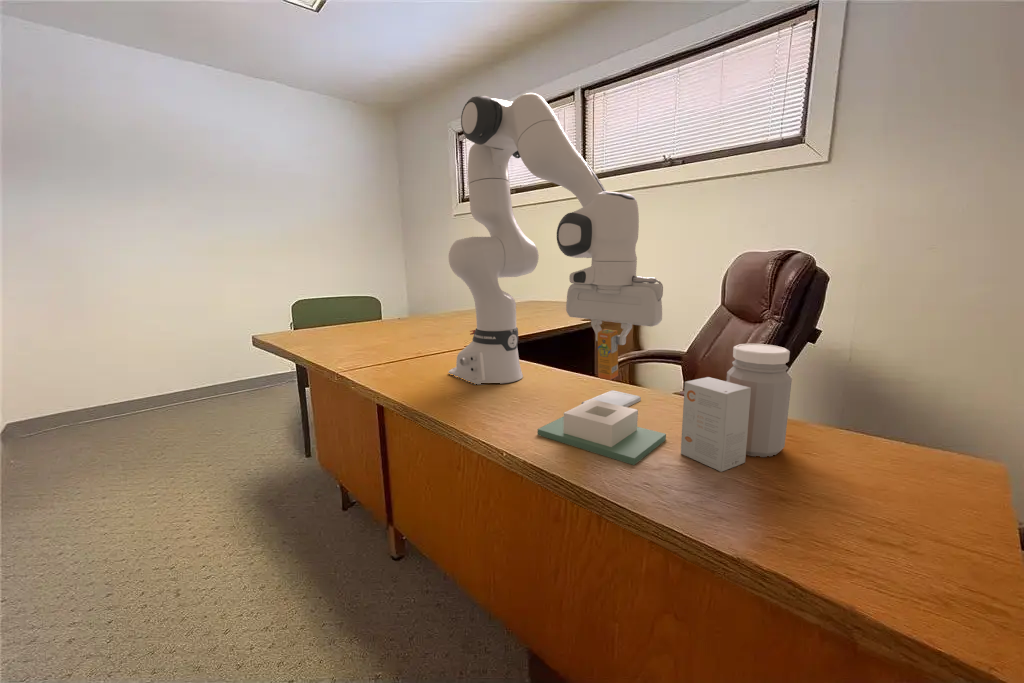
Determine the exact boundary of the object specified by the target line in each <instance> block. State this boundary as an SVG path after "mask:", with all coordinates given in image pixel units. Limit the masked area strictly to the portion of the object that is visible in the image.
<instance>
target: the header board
mask: <svg viewBox="0 0 1024 683" xmlns="http://www.w3.org/2000/svg"><path fill="white" fill-rule="evenodd" d="M590 399H591V400H589V399H588V400H589V401H587V400H586V401H587V402H585V403H583V404H579V405H577V406H575V407H573V408H570V409H569V410H567V411H564V412H563V416H561V417H559V418H557V419H555V420H553V421H551V422H549V423H547V424H545V425H543V426H541V427H539V428H538V429H537V436H540V437H543V438H545V439H549V440H552V441H556V442H559V443H563V444H565V445H568V446H572V447H575V448H578V449H581V450H584V451H588V452H591V453H593V454H597V455H601V456H603V457H607V458H609V459H614V460H617V461H620V462H623V463H626V464H629V465H631V466H635V465H636V464H638V463H639V462H641V460H642V459H643V458H645V457H646V456H648V455H649V454H650V453H651V452H652V451H654V450H655V449H657V447H660V445H662V444H663V443H664V442H665V441H667V433H664V432H661V431H656V430H653V429H648V428H644V427H640V426H638V417H639V416H638V415H639V413H638V412H639V410H638V409H636V408H632V407H623V406H619V405H615V404H610V403H606V402H601V401H597V400H592V398H590Z"/></svg>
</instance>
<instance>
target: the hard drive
mask: <svg viewBox="0 0 1024 683" xmlns="http://www.w3.org/2000/svg"><path fill="white" fill-rule="evenodd" d="M591 399H592V400H597V401H601V402H606V403H610V404H615V405H619V406H623V407H628V408H630V406H633V405H634V404H637V403H638V402H640V401H641V400H642V398H641V396H640V395H636V394H632V393H626V392H622V391H619V390H618V391H617V390H609V391H606V392H604V393H602V394H599V395H597V396H594V397H592V398H590V399H586V400H584V401H582V402H581V404H583V403H585V402H587V401H589V400H591ZM581 404H580V405H581Z"/></svg>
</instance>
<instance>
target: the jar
mask: <svg viewBox="0 0 1024 683" xmlns="http://www.w3.org/2000/svg"><path fill="white" fill-rule="evenodd" d="M732 350H733V351H732V357H733V358H734V360H733V361H732V362H731V364H732V365H733V366H732V367H731V368H729V370H728V371H726V380H725V381H727V382H730V383H734V384H738V385H742V386H746V387H750V388H751V395H750V407H749V420H748V434H747V445H746V456H749V457H756V456H760V458H768V457H767V456H769V457H774V456H773V455H775V456H776V455H777V454H778V453H780V452H781V451H783V449H784V448H785V446H786V445H785V444H786V435H787V426H788V416H789V408H790V400H791V391H792V390H791V389H792V380H793V379H792V377H791V376H790V375H789V373H788V371H787V370H789V367H788V365H786V363H788V362H790V354H791V351H790V350H789V349H787V348H785V347H782V346H778V345H775V344H774V345H773V344H767V343H766V344H764V343H739V344H737V345H734V346H733V348H732Z"/></svg>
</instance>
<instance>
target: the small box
mask: <svg viewBox="0 0 1024 683" xmlns="http://www.w3.org/2000/svg"><path fill="white" fill-rule="evenodd" d="M683 391H684V392H683V404H682V406H683V407H682V424H681V440H680V441H681V443H680V454H681V455H683V456H685V457H687V458H689V459H692V460H694V461H696V462H697V463H698V462H699V463H701V464H703V465H705V466H707V467H710V468H712V469H714V470H716V471H719V472H720V473H723V472H725V471H727V470H729V469H732V468H735V467H737V466H740V465H743V464H744V463H746V457H747V455H746V445H747V434H748V420H749V407H750V395H751V388H750V387H746V386H742V385H738V384H734V383H730V382H727V381H726V380H724V379H723V380H721V379H718V378H714V377H710V376H706V377H701V378H696V379H692V380H687V381H684V390H683Z"/></svg>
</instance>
